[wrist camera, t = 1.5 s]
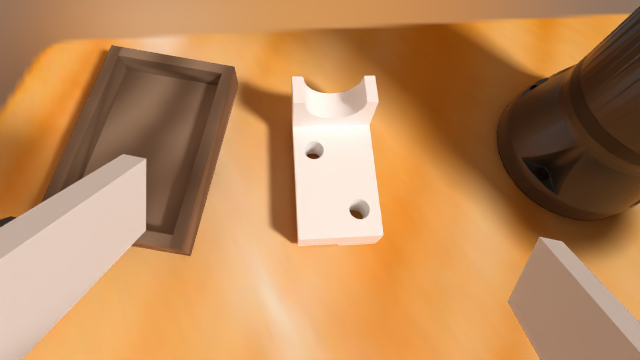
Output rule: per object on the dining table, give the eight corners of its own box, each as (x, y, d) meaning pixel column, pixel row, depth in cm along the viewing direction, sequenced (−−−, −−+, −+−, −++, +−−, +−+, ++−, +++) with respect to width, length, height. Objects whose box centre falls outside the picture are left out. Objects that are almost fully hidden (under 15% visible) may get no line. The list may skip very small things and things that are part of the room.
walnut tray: (238, 85, 40) (234, 66, 37) (190, 255, 33) (181, 249, 31) (121, 64, 40) (108, 44, 37) (49, 232, 33) (28, 223, 30)
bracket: (291, 121, 39) (292, 76, 32) (359, 120, 40) (374, 75, 33) (297, 248, 35) (299, 227, 28) (374, 243, 35) (395, 223, 28)
